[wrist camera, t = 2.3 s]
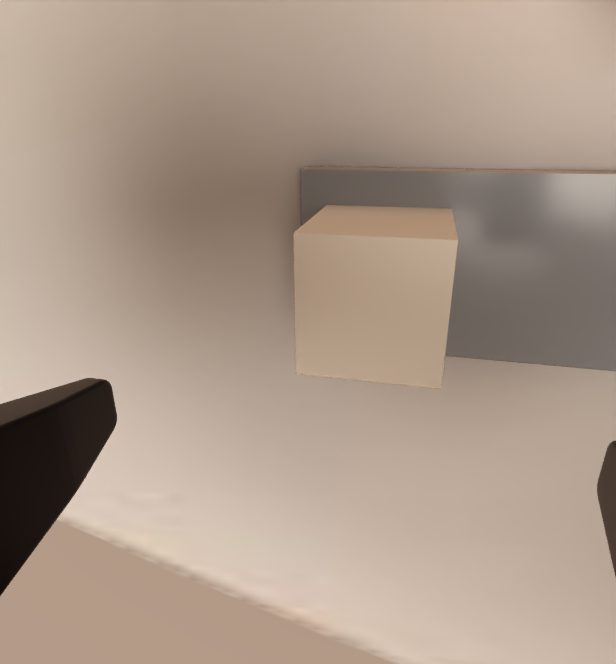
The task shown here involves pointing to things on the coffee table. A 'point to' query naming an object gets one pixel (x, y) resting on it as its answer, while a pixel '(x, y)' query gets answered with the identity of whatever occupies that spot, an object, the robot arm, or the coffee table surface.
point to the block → (374, 293)
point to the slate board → (508, 254)
